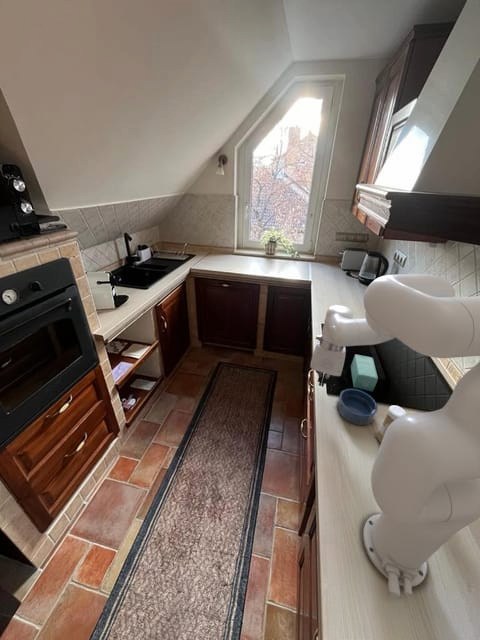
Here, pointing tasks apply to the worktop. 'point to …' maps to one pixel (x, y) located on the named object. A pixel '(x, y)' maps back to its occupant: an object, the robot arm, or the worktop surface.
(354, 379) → the box
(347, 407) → the bowl
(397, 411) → the sprinkles bottle
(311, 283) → the worktop surface
